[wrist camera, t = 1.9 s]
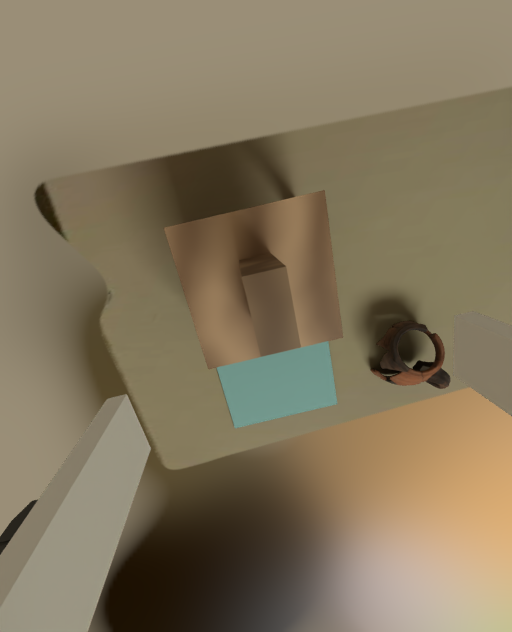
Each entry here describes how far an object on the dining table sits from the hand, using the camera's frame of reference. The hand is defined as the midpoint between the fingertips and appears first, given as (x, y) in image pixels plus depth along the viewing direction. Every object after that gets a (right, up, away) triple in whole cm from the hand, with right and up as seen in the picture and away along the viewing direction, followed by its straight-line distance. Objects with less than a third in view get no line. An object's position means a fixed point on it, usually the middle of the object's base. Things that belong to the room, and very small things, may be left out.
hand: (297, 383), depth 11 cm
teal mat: (+1, -6, +32) cm, 33 cm away
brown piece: (-2, +9, +27) cm, 28 cm away
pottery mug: (+21, -3, +33) cm, 39 cm away
